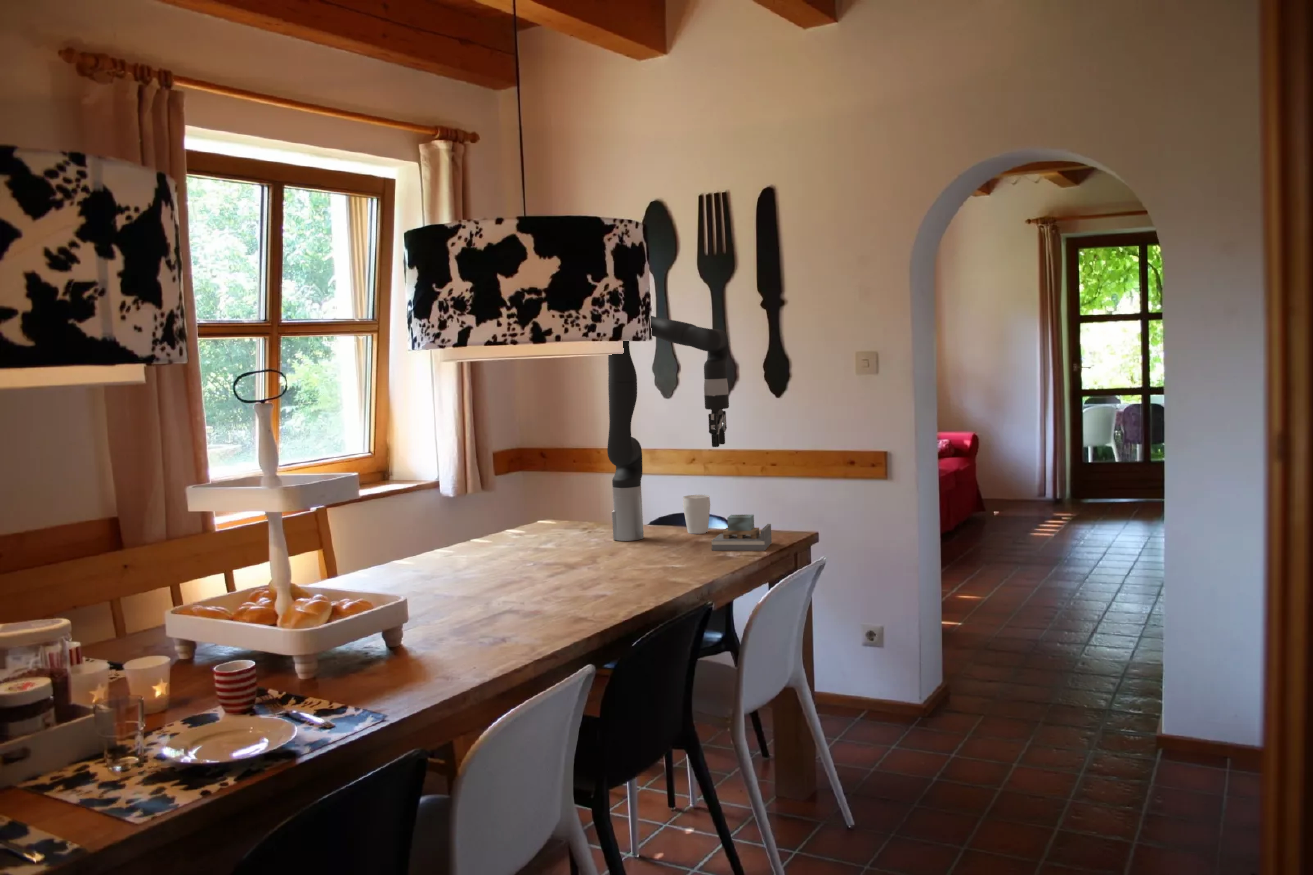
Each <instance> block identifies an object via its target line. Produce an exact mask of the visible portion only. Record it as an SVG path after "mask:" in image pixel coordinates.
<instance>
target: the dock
mask: <svg viewBox="0 0 1313 875" xmlns="http://www.w3.org/2000/svg"><path fill="white" fill-rule="evenodd" d="M772 538H773V537H772V524H771V523H767V524H766V525H765V526H763V527H762V529H760V533H759V536H758V537H757V538H756V539H751V535H746V536H745V537H744V538H743V539H737V535H732V536H731V537H730V538H729V539H723V533H719V534H718V535H717V536H716V537H714V538H712V540H711V551H719V552H720V551H730V552H731V551H732V552H733V551H734V552H735V551H739V552H740V551H750V552H751V551H754V552H755V551H756V552H757V551H758V552H761V551H766V550H767V549H768V548H769V547H770V546H771V545H772V540H773V539H772ZM770 544H771V545H770ZM769 545H770V546H769ZM767 547H768V548H767Z"/></svg>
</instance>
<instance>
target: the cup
mask: <svg viewBox="0 0 1313 875" xmlns="http://www.w3.org/2000/svg"><path fill="white" fill-rule="evenodd" d="M682 508H683V513H684V519H685V524H686V529H687V530H686V531H687V533H688V534H689V535H701V534H702V535H704V534H707V533H708V532H709V524H710V522H709V521H710V512H711V499H710V495H708V494H688V495H685V496H683V497H682ZM706 532H707V533H706Z"/></svg>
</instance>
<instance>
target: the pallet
mask: <svg viewBox="0 0 1313 875" xmlns="http://www.w3.org/2000/svg"><path fill="white" fill-rule="evenodd" d="M722 534H723V539H729V538H730V537H731V536H732V535H737V539H743V538H744V537H745V536H746V535H751V539H756V538H757V537H758V536H759V534H760V527H755V515H754V514H730V515H729V516H728V517H727V527H725V529H723V531H722Z"/></svg>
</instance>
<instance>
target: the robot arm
mask: <svg viewBox="0 0 1313 875" xmlns="http://www.w3.org/2000/svg"><path fill="white" fill-rule="evenodd" d="M651 328H652V336H651V337H655V338H658V339H660V340H662V341H666V342H669V343H673V344H675V345H681V346H686V347H691V348H694V349H697V350H700V351H703V352H707V355H706V356H707V358H706V361H704V364H703V378H704V379H703V380H704V382H703V393H704V395H703V397H704V409H705V410H709V411H710V412H711V413H708V415H707V416H708V433H709V434H710V436H711V447H712V448H719V447H720V445H725V444H726V431H727V428H728V427H727V412H726V409H729V408H730V400H729V384H728V374H727V373H728V372H727V371H728V370H727V360H728V354H729V339H728V335H727V334H726V332H725V331H724V330H722V329H718V328H707V327H701V326H697V325H696V324H692V323H688V322H685V321H679V320H674V319H670V318H669V319H667V318H662V317H657V316H654V315H651ZM623 348H624V353H623V354H612V355H608V354H607V355H608V357H607V360H608V363H607V367H608V368H607V369H608V370H607V372H608V380H607V382H608V386H607V388H608V414H609V415H608V417H609V418H608V419H609V425H608V427H609V428H608V438H607V457H608V460H609V461H610V462H611V464H613V465H614V466H615V473H614V476H613V478H612V500H613V502H612V503H613V510H612V511H611V519H612V520H611V522H612V523H611V524H612V539H613V541H618V542H619V541H620V542H621V541H622V542H625V541H626V542H627V541H628V542H630V541H639V540H642V539H644V519H643V517H644V516H643V498H642V477H643V450H642V446H641V443H640V442H639V441H638V439H636V438H635V437H632V419H633V415H634V411H635V408H636V404H637V398H638V376H637V371H636V367H635V365H634V363H633V358H632V355H631V351H630V340H629V341H623Z"/></svg>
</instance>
